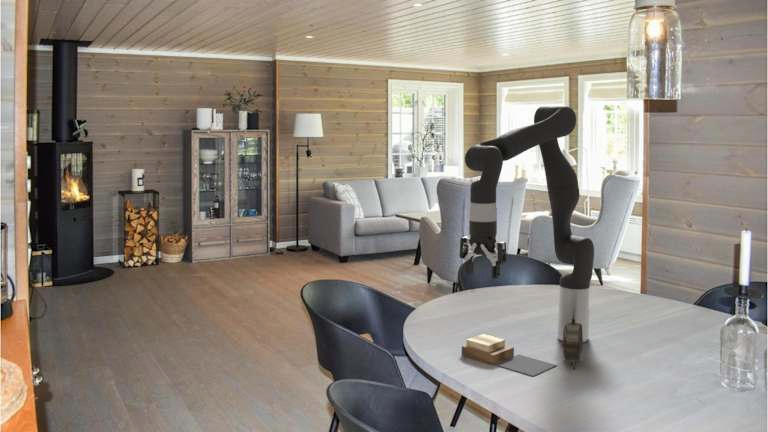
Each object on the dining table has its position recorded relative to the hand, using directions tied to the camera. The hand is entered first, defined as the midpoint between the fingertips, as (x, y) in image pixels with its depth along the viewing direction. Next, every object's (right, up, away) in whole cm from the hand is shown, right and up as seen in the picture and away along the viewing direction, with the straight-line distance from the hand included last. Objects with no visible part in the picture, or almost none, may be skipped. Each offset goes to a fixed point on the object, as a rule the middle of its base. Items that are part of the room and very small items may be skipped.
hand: (482, 276), depth 195 cm
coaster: (+3, -22, +12) cm, 25 cm away
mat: (+13, -26, +4) cm, 29 cm away
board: (+3, -25, +12) cm, 28 cm away
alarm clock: (+26, -26, +6) cm, 37 cm away
